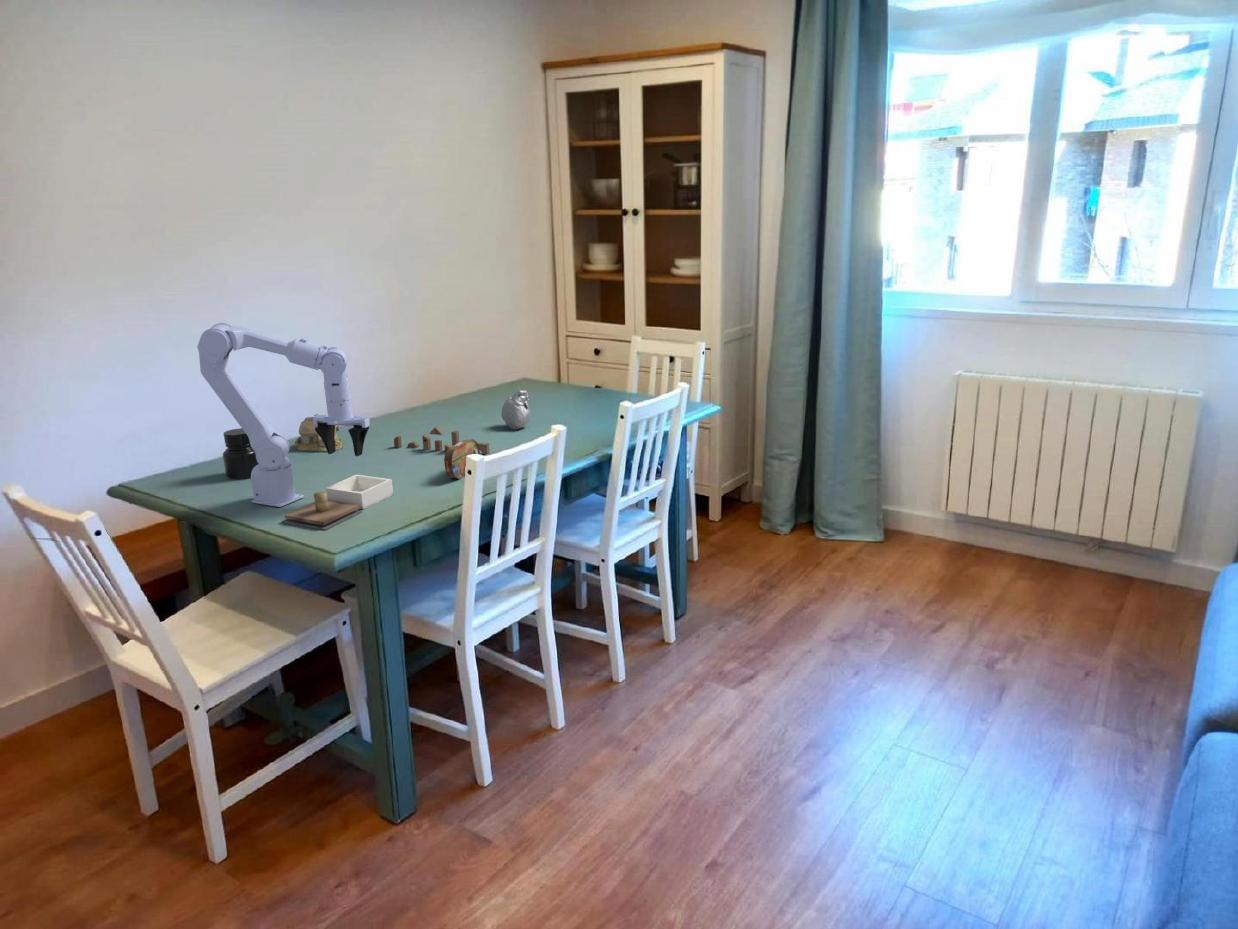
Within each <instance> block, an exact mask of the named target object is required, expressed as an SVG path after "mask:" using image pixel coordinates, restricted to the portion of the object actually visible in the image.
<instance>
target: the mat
mask: <svg viewBox="0 0 1238 929" xmlns="http://www.w3.org/2000/svg"><path fill="white" fill-rule="evenodd" d="M362 513H363V510H359V509H357V510H355V511H353V512H351V513H349V514H347V515H345V516H343V517H341V518H338V519H336V520H334V521H332V522H330V523H328V524H326V525H319V524H313V523H308V522H302V521H297V520H291V519H286V518H284V519H283V520H281V523H283V524H288V525H292V526H299V527H306V528H311V529H317V530H322V531H327V530H330V529H332V528H334V527H335V526H337V525H340V524H342V523H344V522H345V521H347V520H349V519H352V518H354V517H355V516H358V515H360V514H362Z"/></svg>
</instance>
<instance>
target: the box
mask: <svg viewBox="0 0 1238 929" xmlns="http://www.w3.org/2000/svg"><path fill="white" fill-rule="evenodd" d="M324 489H325V491H324V492H326V493H327V499H328V500H332V501H338V502H344V503H350V504H356V505H359V506H360V508H359V509H358V510H361V511H363V510H366V509H368V508H370V507H372V506H374V505H376V504H378V503H380V502H382V501H385V500H386V499H388V498H390V497H392V496H393V495H394V488H393V479H391V478H384V477H377V476H369V475H363V474H358V473H357V474H354V475H351V476H350V477H348V478H345V479H343V480H341V481H339V482H335V483H333V484H332V485H329V486H327V487H325V488H324Z"/></svg>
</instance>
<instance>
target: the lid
mask: <svg viewBox="0 0 1238 929" xmlns="http://www.w3.org/2000/svg"><path fill="white" fill-rule="evenodd" d="M313 498H314V501H313V502H311V503H308V504H306V505H305V506H302V507H300V508H298V509H296V510H292V511H291V512H289V513H287V514H284V519H291V520H297V521H302V522H308V523H313V524H319V525H326V524H328V523H330V522H332V521H334V520H336V519H338V518H341V517H343V516H345V515H347V514H349V513H351V512H353V511H355V510H360V509H359V508H360V506H359V505H356V504H350V503H344V502H338V501H332V500H328V499H327V493H326V491H317V492H314V493H313Z"/></svg>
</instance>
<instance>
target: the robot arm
mask: <svg viewBox="0 0 1238 929" xmlns="http://www.w3.org/2000/svg"><path fill="white" fill-rule="evenodd" d="M245 348H246V349H247V348H253V349H256V350H260V351H265V352H269V353H272V354H273V353H274V354H277V355H280V356H281V355H282V356H285V357H286V359H287V360H288V362H289V363H291V364H293V365H294V364H295V365H299V366H301V367H304V368H305V367H306V368H307V369H308V368H309V369H313V370H320V371H321V372H322V374H323V380H324V381H323V387H324V397H325V403H326V405H325V406H326V411H327V414H319V415H316V416H314V415H313V416H312V417H313V423H314V425H318V426H317V427H316V428H315V431H316V432H317V433H318V435H319V436H320V437H321V439H322V441H323V443H324V445H325V447H326V449H327V451H326V452H327V454H328V455H333V454H334V453H336V451H337V450H336V447H335V425H338V426H345V427H351V428H349V429H348V433H349V435H350V438H351V441H352V446H353V447H352V448H353V453H354V456H355V457H360V456H362V455H363V450H364V444H365V443H364V442H365V439H366V436H367V434H368V431H369V430H370V426H371V423H370V418H369V417H362V416H358V415H354V413H353V405H352V397H351V389H350V381H349V378H348V376H349V374H348V372H347V364H348V358H347V355H346V353H345V352H344V351H343V350H341V349H339V348H337V347H335V346H333V347H329V345H327V344H323V345H320V344H316V343H313V342H309V341H308V339H307V338H304V337H301V338H300V339H299V338H295V339H293V340H291V341H286V340H284V339H280V338H278V337H273V336H272V335H268V334H265V333H262V332H259V331H256V330H253V329H250V328H247V327H243V326H241V325H235V324H233V325H230V324H228V323H226V322H225V323H224V322H218V323H215V324H214V325H213V326H211V327H210V328H208V329H206V330H204V331H203V332H202V334H201V335H200V338H199V341H198V344H197V351H198V356H199V371H200V374H201V375H202V377H203V378H204V379H205V381H206V382H207V384H208V385H209V386H210V388H211V389H212V390H213V391H214V393H215V394H216V395H217V397H218V398H219V399H220V401H221V402H222V404H223V405H224V407H225V408H226V409H227V410H228V411H229V413H230V414H231V415H232V417H233V418H234V420H235V421H236V422H237V424H238V425H239V426H240V428H242V429H243V430H244V432H245V433H246V434H247V436H248V437H249V441H250V444H251V447H252V448H253V450H254V451H255V454H256V459H257V462H258V463H259V464H258V465H256V466H255V467H254V468H253V470H252V472H251V478H250V481H251V482H250V483H251V489H252V494H253V499H252V500H251V503H252V504H259V505H264V506H270V507H277V508H281V507H285V506H288V505H289V504H291V503H294V502H296V501H298V500H300V499H302V498H304V497H305V496H304V494H299V493H296V490H295V489H296V488H295V482H294V474H293V469H292V468H293V467H292V461H291V460H290V459H289V458H288V457H287V456H288V454H289V451H290V443H289V440H287V439H286V437H284V436H283V435H281V434H280V433H278V432H277V431H276V430H275V428H274V427H273V426H271V425H269V424H268V423H267V422H266V421H265V420H264V418H263V416H261V414H260V413H259V411H258V410H257V409H256V407H255V406H254V404H253V403H252V401H251V400H250V399H249V398H248V396H247V395H246V394H245V392H244V391H243V389H242V388H241V387H240V385H239V384H238V382H237V381H236V380H235V379H234V377H233V376H232V375H231V373H230V372H229V371H228V369H227V366H228V361H229V358H230V354H231V352H232V351H238V350H242V349H245Z"/></svg>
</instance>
